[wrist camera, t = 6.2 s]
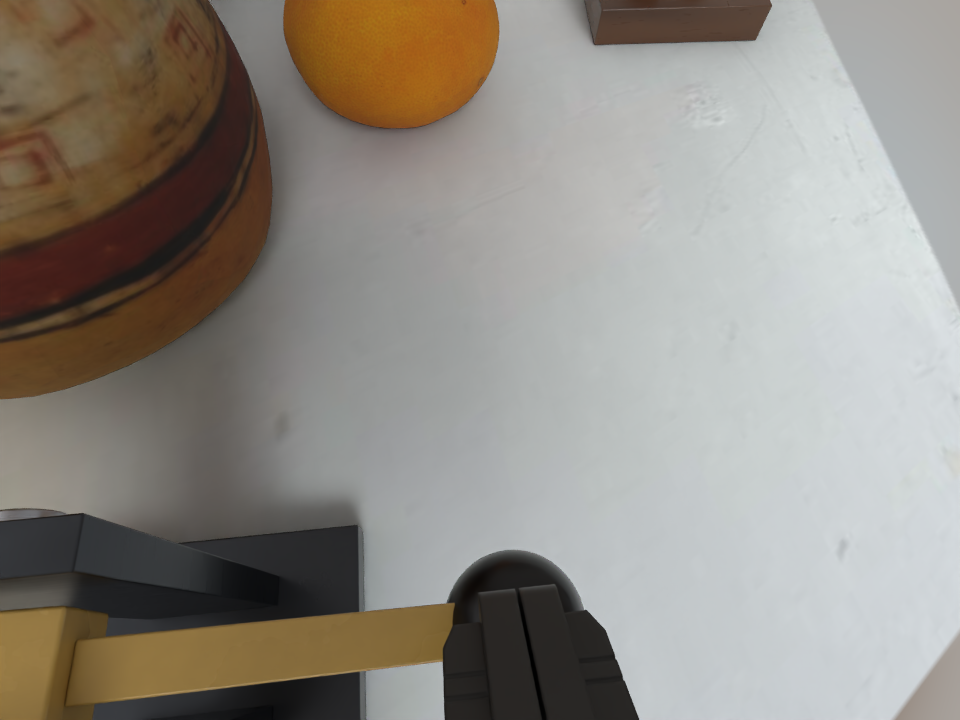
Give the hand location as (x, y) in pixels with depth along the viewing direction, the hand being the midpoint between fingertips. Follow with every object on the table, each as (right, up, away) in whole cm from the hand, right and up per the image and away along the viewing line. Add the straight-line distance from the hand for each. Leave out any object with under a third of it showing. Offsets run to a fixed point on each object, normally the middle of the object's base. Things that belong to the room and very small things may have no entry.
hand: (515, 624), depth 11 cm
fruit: (-5, +20, +22) cm, 30 cm away
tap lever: (-5, -2, +2) cm, 6 cm away
